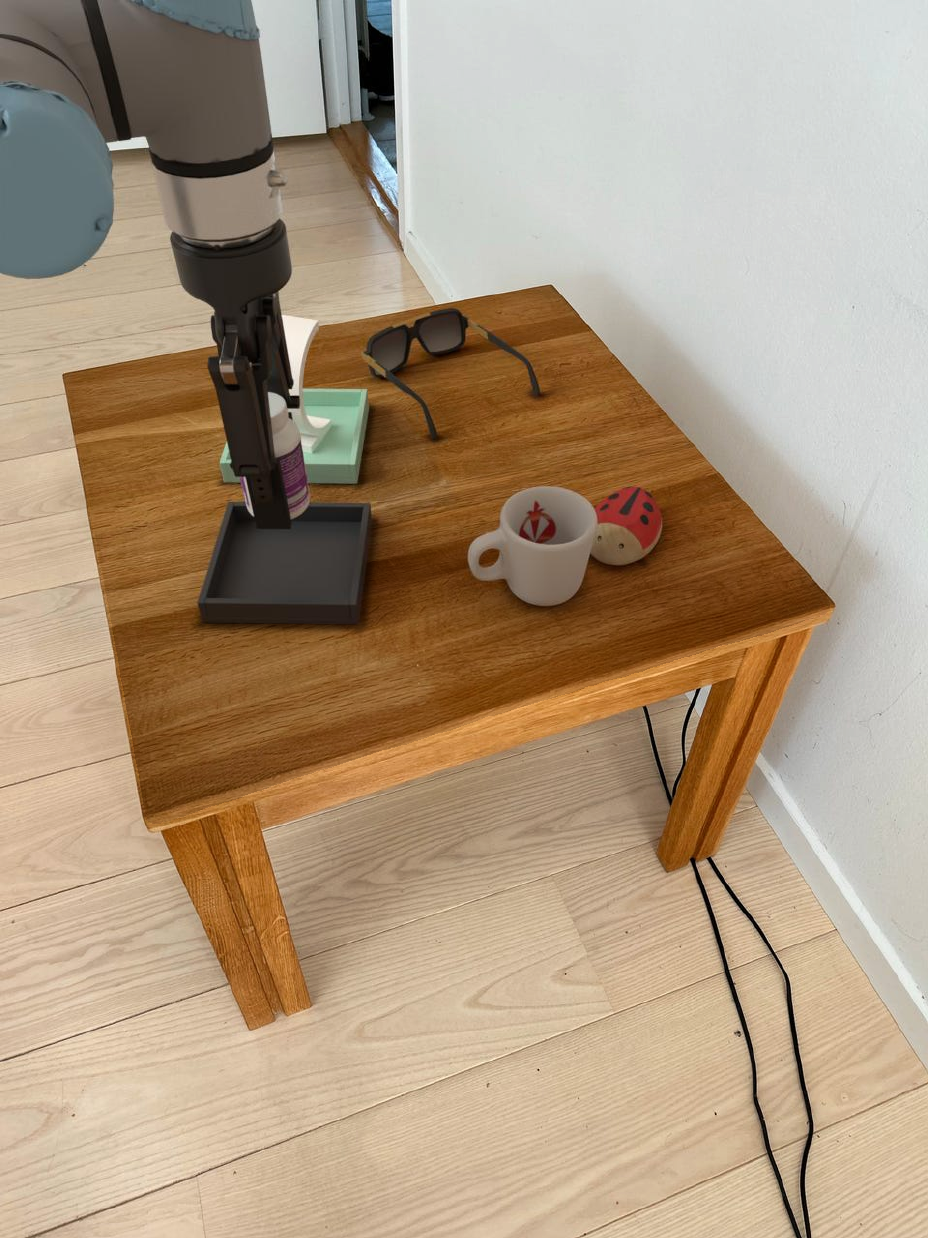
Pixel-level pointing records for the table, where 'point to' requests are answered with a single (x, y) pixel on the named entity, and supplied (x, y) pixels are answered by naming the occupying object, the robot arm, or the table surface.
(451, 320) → the sunglasses
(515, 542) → the cup
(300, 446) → the pill bottle
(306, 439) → the headphone stand
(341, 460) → the mint tray
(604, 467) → the table surface
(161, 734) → the table surface
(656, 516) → the ladybug figurine
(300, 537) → the charcoal tray
